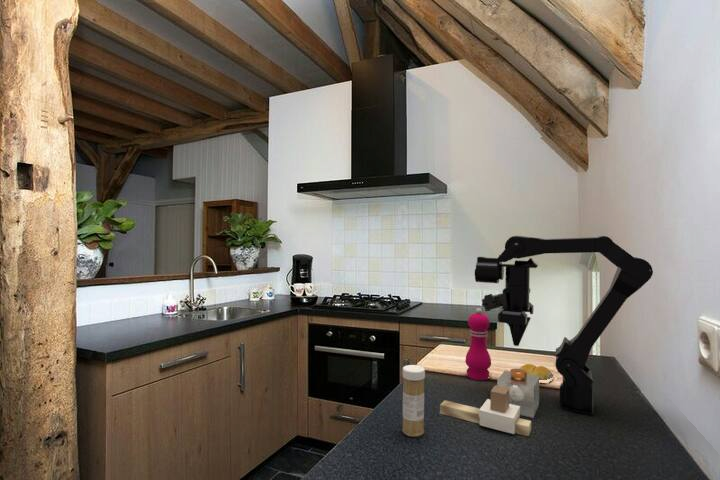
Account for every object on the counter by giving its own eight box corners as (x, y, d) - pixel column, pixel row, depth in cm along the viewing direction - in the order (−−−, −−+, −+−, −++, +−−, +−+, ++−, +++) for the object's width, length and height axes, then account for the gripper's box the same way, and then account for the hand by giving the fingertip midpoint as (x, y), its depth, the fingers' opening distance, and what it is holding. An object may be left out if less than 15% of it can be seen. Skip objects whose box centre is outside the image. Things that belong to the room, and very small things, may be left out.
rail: (531, 430, 83) (531, 421, 83) (528, 436, 81) (528, 426, 81) (444, 408, 93) (444, 400, 93) (439, 413, 91) (440, 404, 91)
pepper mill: (494, 381, 112) (495, 310, 112) (468, 380, 112) (469, 310, 112) (486, 372, 119) (487, 306, 119) (462, 371, 119) (463, 305, 119)
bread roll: (525, 371, 121) (525, 358, 120) (556, 379, 114) (556, 366, 114) (513, 378, 115) (513, 364, 115) (545, 387, 108) (545, 372, 108)
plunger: (527, 395, 95) (528, 370, 95) (524, 400, 92) (525, 374, 92) (511, 392, 97) (512, 367, 97) (508, 397, 94) (509, 371, 94)
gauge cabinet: (538, 405, 96) (539, 376, 96) (533, 418, 89) (533, 387, 89) (504, 398, 100) (504, 370, 100) (496, 410, 93) (496, 380, 93)
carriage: (519, 422, 86) (520, 387, 86) (513, 435, 80) (513, 398, 80) (487, 414, 90) (487, 381, 90) (478, 426, 84) (479, 391, 84)
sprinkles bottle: (415, 425, 85) (416, 363, 85) (428, 435, 81) (429, 369, 81) (397, 429, 83) (398, 365, 83) (409, 439, 79) (410, 372, 79)
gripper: (491, 279, 113) (490, 333, 113) (476, 286, 97) (475, 349, 97) (534, 282, 108) (533, 339, 108) (525, 289, 92) (524, 356, 92)
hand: (516, 345), depth 101 cm, fingers closed
